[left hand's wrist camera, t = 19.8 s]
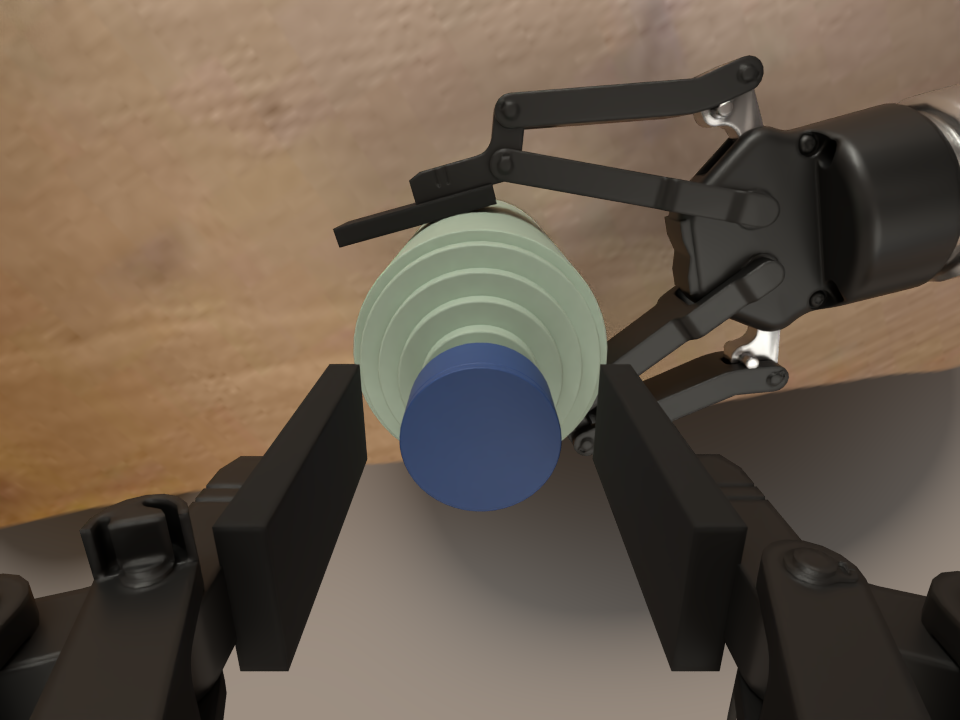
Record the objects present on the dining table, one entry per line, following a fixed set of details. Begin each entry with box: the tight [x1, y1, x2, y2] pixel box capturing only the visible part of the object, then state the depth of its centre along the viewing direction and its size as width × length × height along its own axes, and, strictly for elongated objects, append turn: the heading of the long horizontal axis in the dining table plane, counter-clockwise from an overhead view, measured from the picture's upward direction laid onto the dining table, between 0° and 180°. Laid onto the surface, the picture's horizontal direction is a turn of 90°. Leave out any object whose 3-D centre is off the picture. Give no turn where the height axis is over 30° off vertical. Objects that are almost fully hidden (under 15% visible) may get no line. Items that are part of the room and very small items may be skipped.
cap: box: [399, 343, 562, 511], centre depth 14 cm, size 4×4×2 cm
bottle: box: [354, 200, 607, 441], centre depth 22 cm, size 8×8×18 cm
